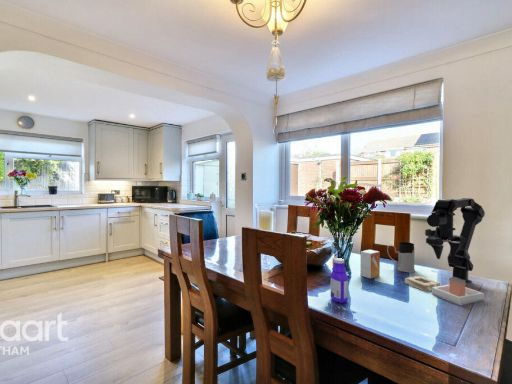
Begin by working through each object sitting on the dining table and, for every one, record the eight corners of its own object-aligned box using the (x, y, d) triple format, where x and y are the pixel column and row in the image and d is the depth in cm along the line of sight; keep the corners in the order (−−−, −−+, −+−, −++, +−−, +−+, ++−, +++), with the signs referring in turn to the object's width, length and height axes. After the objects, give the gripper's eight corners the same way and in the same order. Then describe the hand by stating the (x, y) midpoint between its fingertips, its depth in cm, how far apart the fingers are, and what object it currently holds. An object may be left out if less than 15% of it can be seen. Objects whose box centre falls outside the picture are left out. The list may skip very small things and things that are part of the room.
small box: (370, 278, 141) (370, 253, 140) (360, 275, 146) (360, 251, 146) (380, 276, 145) (380, 251, 145) (369, 272, 150) (369, 249, 150)
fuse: (454, 292, 120) (454, 276, 119) (465, 296, 115) (465, 280, 115) (449, 293, 119) (449, 277, 118) (459, 297, 114) (460, 281, 114)
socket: (419, 280, 137) (419, 275, 137) (440, 288, 127) (440, 283, 127) (405, 283, 134) (405, 278, 134) (425, 291, 124) (425, 285, 124)
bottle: (350, 302, 113) (350, 260, 112) (340, 305, 110) (340, 262, 110) (338, 296, 119) (338, 256, 119) (327, 298, 117) (327, 257, 116)
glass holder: (416, 273, 149) (417, 245, 149) (388, 270, 154) (388, 243, 154) (413, 268, 158) (413, 242, 157) (386, 266, 162) (386, 240, 162)
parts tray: (454, 290, 125) (454, 283, 125) (484, 300, 113) (484, 293, 113) (431, 294, 120) (431, 287, 120) (459, 305, 109) (459, 297, 109)
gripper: (443, 222, 141) (443, 252, 141) (416, 224, 135) (415, 255, 135) (466, 225, 130) (466, 257, 131) (437, 227, 125) (437, 261, 125)
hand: (445, 258), depth 131 cm, fingers open, 9 cm apart
